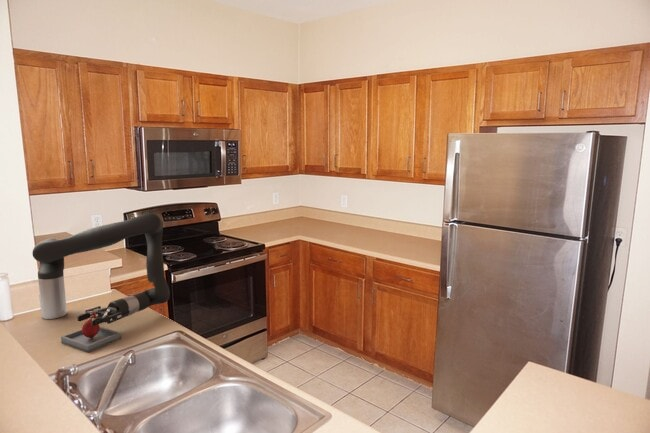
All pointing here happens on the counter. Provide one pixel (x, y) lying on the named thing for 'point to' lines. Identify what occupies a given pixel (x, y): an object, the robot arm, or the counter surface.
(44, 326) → the counter surface
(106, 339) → the tray
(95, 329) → the onion
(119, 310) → the robot arm
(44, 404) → the counter surface
